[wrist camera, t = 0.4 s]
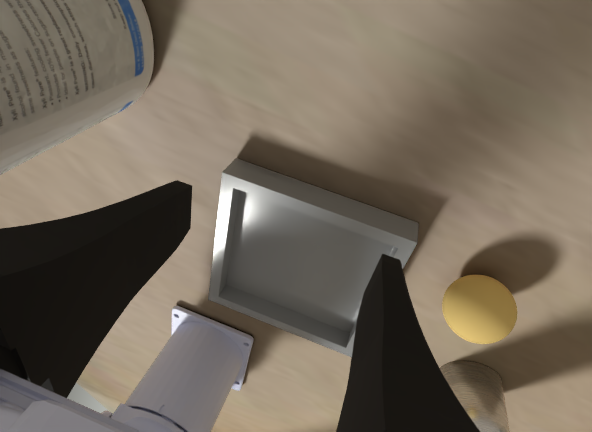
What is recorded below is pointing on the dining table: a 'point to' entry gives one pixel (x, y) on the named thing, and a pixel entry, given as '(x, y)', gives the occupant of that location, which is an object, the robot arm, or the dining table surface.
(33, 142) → the supplement tub
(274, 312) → the dish
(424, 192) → the dining table surface
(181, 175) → the dining table surface
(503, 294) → the ball
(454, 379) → the shaker cup
